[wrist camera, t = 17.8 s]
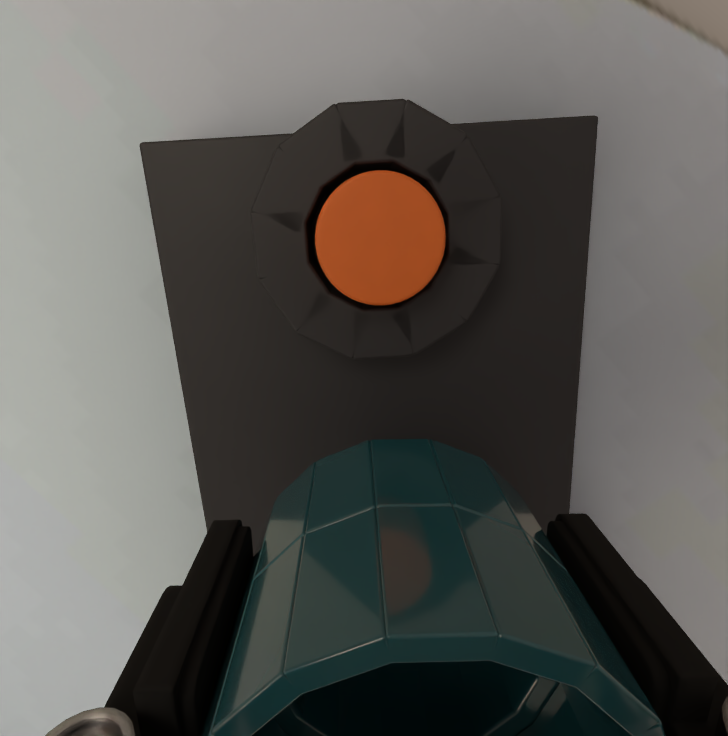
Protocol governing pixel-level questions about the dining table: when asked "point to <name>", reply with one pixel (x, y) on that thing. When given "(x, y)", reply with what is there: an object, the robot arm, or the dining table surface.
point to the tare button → (380, 237)
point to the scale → (376, 322)
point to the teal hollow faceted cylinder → (416, 612)
